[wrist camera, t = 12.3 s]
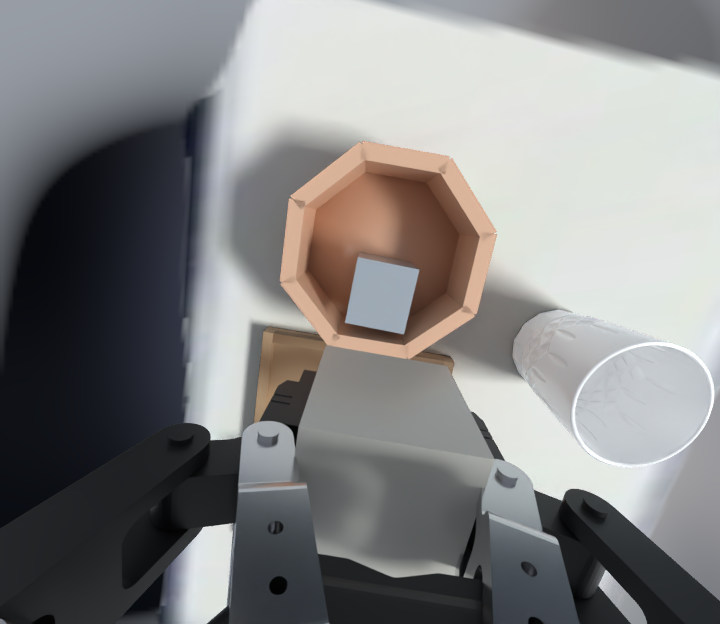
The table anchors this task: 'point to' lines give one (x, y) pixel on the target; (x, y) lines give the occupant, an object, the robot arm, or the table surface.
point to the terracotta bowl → (387, 244)
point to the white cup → (615, 386)
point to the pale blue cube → (381, 292)
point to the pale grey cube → (390, 462)
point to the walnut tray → (300, 361)
